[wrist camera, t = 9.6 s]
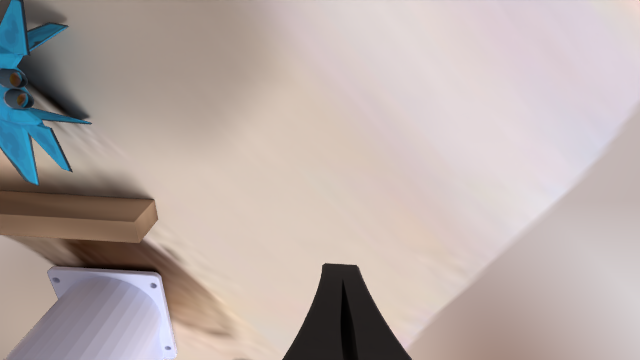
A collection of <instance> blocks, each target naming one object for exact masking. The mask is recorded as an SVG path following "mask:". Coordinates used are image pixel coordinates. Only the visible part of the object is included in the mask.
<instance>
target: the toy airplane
mask: <svg viewBox="0 0 640 360" xmlns="http://www.w3.org/2000/svg"><path fill="white" fill-rule="evenodd" d="M67 27H69V26H67V25H62V24H56V23H46V24H44V25H41V26H39V27H36V28H34V29H31V30H29V31H27V26H26V18H25V10H24V2H23V0H11V2H10V4H9V7H8V9H7V11H6V14H5V16H4V18H3V20H2V23H1V25H0V149H1V150H2V151H3V152H4V154H5V155H6V156H7V158H8V159H9V160H10V162H11V163H12V164H13V166H14V167H15V168H16V170H17V171H18V172H19V174H20V175H21V176H22V178H23V179H24V180H25V181H27V182H29V183H32V184H35V185H37V186H39V180H38V174H37V169H36V163H35V157H34V152H33V146H32V140H31V136H32V137H33V138H34V139H35V140H36V142H37V143H38V144H39V145H40V146H41V147H42V148H43V149H44V150H45V151H46V152H47V153H48V154H49V155H50V156H51V157H52V158H53V159H54V160H55V161H56V163H57V164H58V165H59V166H60V167H61V168H62V169H64V170H67V171H70V172H73V171H72V169H71V167H70V165H69V163H68V161H67V159H66V157H65V154H64V152H63V150H62V148H61V146H60V144H59V142H58V140H57V138H56V136H55V134H54V132H53V129H52V128H50V127H47V126H44V124H43V121H42V120H46V121H57V122H69V123H80V124H92V123H90V122H87V121H83V120H79V119H76V118H72V117H68V116H63V115H59V114H55V113H51V112H47V111H43V110H39V109H35V108H30V107H32V106H33V104H34V99H33V97H32V96H31V94H30V93H29V92H28V90H27V89H26V88H25V86H26V85H27V82H28V80H27V77H26V76H25V74H24V73H23V72H22V71H21V70H20V69H19V68H18V67H17V65H18V64H19V62H20V61H21V59H22V58H23V56H24V55H30V51H32V50H33V49H35V48H36V47H38V46H39V45H41V44H43V43H44V42H46V41H47V40H49V39H50V38H52V37H53V36H55V35H56V34H58V33H60V32H61V31H63V30H64V29H66V28H67Z"/></svg>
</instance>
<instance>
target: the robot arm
mask: <svg viewBox="0 0 640 360" xmlns="http://www.w3.org/2000/svg"><path fill="white" fill-rule="evenodd" d="M47 273H48V276H49V278H50V281H51V283H52V286H53V288H54V290H55V292H56V295H57V297H58V301H57V302H56V303H55V304H54V305H53V306H52V307H51V308H50V309H49V311H48V312H47V313H46V314H45V315H44V316H43V317H42V318H41V319H40V320H39V321H38V322H37V323H36V325H35V326H34V327H33V328H32V329H31V330H30V331H29V332H28V333H27V334H26V336H25V337H24V338H23V339H22V340H21V341H20V342H19V343H18V344H17V345H16V346H15V347H14V349H13V350H12V351H11V352H10V353H9V354H8V355H7V356H6V357H5V358H4V359H3V360H163V359H174V358H175V357H176V355H177V348H176V344H175V339H174V335H173V330H172V325H171V321H170V316H169V312H168V307H167V302H166V298H165V293H164V288H163V284H162V279H161V276H160V275H159V274H158V273H156V272H145V271H128V270H111V269H93V268H76V267H59V266H54V267H51V268H50V269H49V270H48V272H47ZM154 283H155V284H154ZM282 360H412V359H411V357H410V356H409V355H408V354H407V352H406V351H405V350H404V348H403V347H402V345H401V344H400V343H399V341H398V340H397V338H396V337H395V335H394V334H393V332H392V331H391V329H390V328H389V326H388V325H387V323H386V322H385V320H384V318H383V317H382V315H381V313H380V311H379V310H378V308H377V306H376V304H375V302H374V301H373V299H372V297H371V295H370V293H369V291H368V289H367V287H366V285H365V282H364V280H363V278H362V275H361V273H360V270H359V267H358V266H357V265H345V264H328V263H325V264H324V265H322V274H321V279H320V282H319V286H318V289H317V292H316V295H315V297H314V300H313V303H312V305H311V307H310V310H309V312H308V314H307V316H306V318H305V321H304V323H303V325H302V327H301V329H300V331H299V332H298V334H297V336H296V338H295V340H294V341H293V343H292V345H291V347H290V348H289V350H288V351H287V353H286V355H285V356H284V358H283V359H282Z"/></svg>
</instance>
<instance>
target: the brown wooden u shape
mask: <svg viewBox="0 0 640 360" xmlns="http://www.w3.org/2000/svg"><path fill="white" fill-rule="evenodd" d="M157 220H158V216H157V211H156V206H155V201H154V200H147V199H131V198H114V197H98V196H81V195H65V194H48V193H32V192H15V191H0V235H15V236H32V237H49V238H66V239H83V240H100V241H117V242H134V243H140V241H141V240H142V239H143V238H144V236H145V235H146V234H147V233H148V231H149V230H150V229H151V228H152V226H153V225H154V224H155V223H156V221H157Z"/></svg>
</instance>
